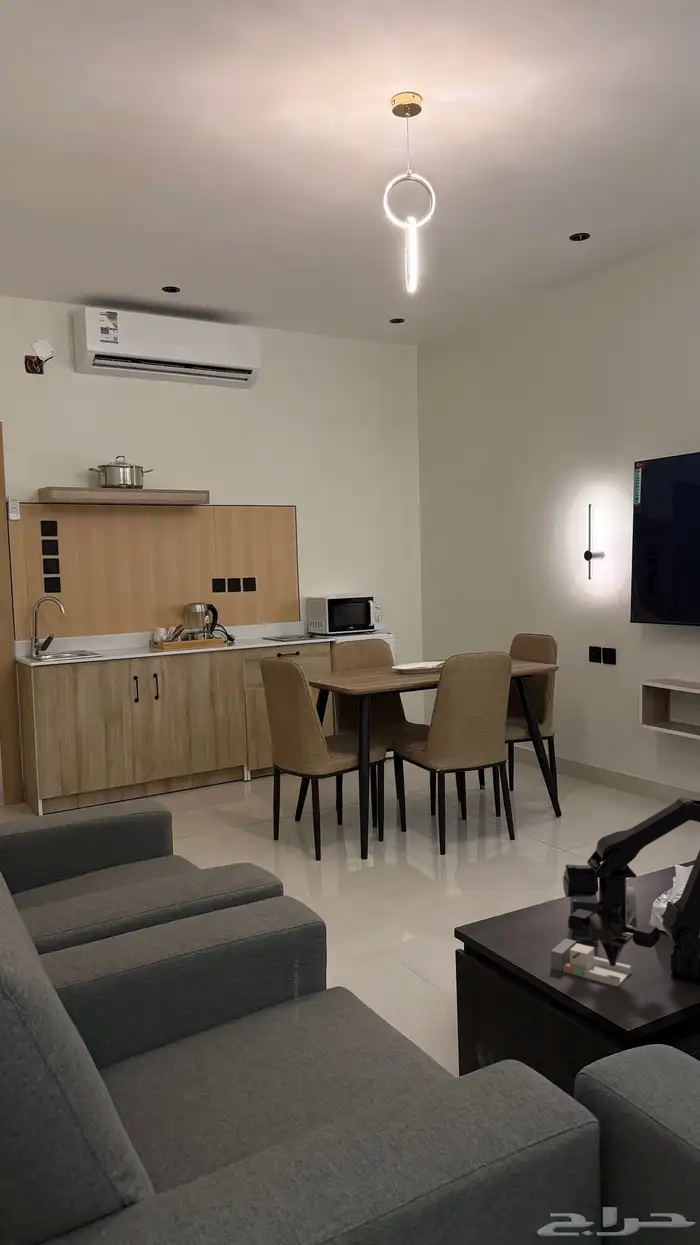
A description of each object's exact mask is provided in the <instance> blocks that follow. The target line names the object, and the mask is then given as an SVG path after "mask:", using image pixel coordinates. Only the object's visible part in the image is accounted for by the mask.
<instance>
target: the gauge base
mask: <svg viewBox="0 0 700 1245" xmlns="http://www.w3.org/2000/svg"><path fill="white" fill-rule="evenodd" d="M575 945H576V941H574V940H571V938H566V937H565V938H564V939H563V940H562V941H561V942H559V943H558V944H557V945H556V946H555V947H554V948H552V949H551V951H550V962H551V963H550V965H551V966H550V969H552V970H557V971H560V972H564V973H568V974H572V975H575V976H577V977H578V976H579V977H582V978H586V979H588V980H592V981H597V982H600V983H604V984H606V985H611V986H615V987H617V988H618V987H619V986H621V984H622V983H623V982H624V981H625V980H626V979H627V978H628V976H630V975H631V974H632V966H631V965H630V964H627V963H621V962H618V961H617V963H616V965H615V966H614V967H613V966H610V963H609V960H608V958H607V959H606V958H601V957H598V956H595V955H594V966H593V967H592V968H591V969H586V968H582V967H579V966H575V965H571V964H570V949H571V948H572V947H574V946H575Z"/></svg>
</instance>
